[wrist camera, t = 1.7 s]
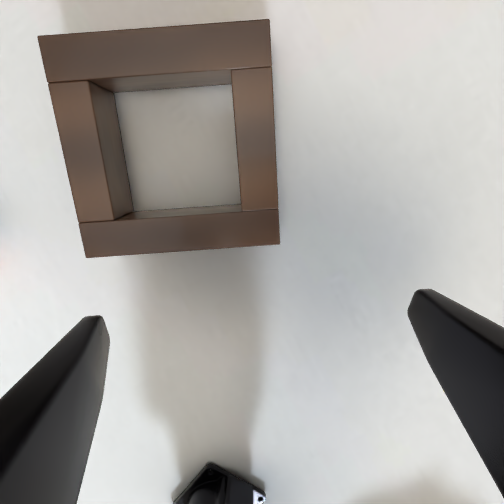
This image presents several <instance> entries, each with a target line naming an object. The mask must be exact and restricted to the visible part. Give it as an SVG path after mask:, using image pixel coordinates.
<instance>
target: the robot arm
mask: <svg viewBox="0 0 504 504" xmlns="http://www.w3.org/2000/svg"><path fill="white" fill-rule="evenodd" d="M408 317H409V320H410V322H411V324H412V327H413V329H414V331H415V334H416V336H417V338H418V340H419V343H420V345H421V347H422V350H423V352H424V354H425V356H426V359H427V361H428V363H429V365H430V367H431V368H432V370H433V372H434V374H435V376H436V377H437V379H438V381H439V383H440V385H441V386H442V388H443V390H444V392H445V394H446V395H447V397H448V399H449V401H450V403H451V404H452V406H453V408H454V410H455V412H456V413H457V415H458V417H459V419H460V421H461V422H462V424H463V426H464V428H465V429H466V431H467V433H468V435H469V437H470V438H471V440H472V442H473V444H474V446H475V447H476V449H477V451H478V453H479V455H480V456H481V458H482V460H483V462H484V464H485V465H486V467H487V469H488V471H489V472H490V474H491V476H492V478H493V480H494V481H495V483H496V485H497V487H498V489H499V490H500V492H501V494H502V496H503V498H504V327H502V326H500V325H498V324H496V323H494V322H492V321H490V320H489V319H487V318H485V317H483V316H481V315H479V314H477V313H475V312H473V311H472V310H470V309H468V308H466V307H464V306H462V305H460V304H458V303H457V302H455V301H453V300H451V299H449V298H447V297H445V296H443V295H442V294H440V293H438V292H436V291H434V290H432V289H420V290H417V291H416V292H415V293H414V295H413V298H412V300H411V303H410V305H409V307H408ZM109 346H110V338H109V334H108V331H107V328H106V325H105V322H104V319H103V317H102V316H100V315H97V316H87V317H84V318H83V319H82V320H81V321H80V322H79V323H78V324H77V325H76V326H75V327H74V328H73V329H71V330H70V331H69V332H68V333H67V334H66V335H65V336H64V337H63V338H62V339H61V340H60V341H59V342H58V343H57V344H56V345H55V346H54V347H53V348H52V349H51V350H50V351H49V352H48V353H47V354H46V355H45V356H44V357H43V358H42V359H41V360H40V361H39V362H38V363H37V364H36V365H35V366H33V367H32V368H31V369H30V370H29V371H28V372H27V373H26V374H25V375H24V376H23V377H22V378H21V379H20V380H19V381H18V382H17V383H16V384H15V385H14V386H13V387H12V388H11V389H10V390H9V391H8V392H7V393H6V394H5V395H4V396H3V397H2V398H1V399H0V504H77V500H78V496H79V492H80V488H81V484H82V480H83V476H84V472H85V468H86V464H87V460H88V456H89V452H90V448H91V444H92V440H93V436H94V432H95V428H96V424H97V420H98V416H99V412H100V408H101V403H102V399H103V392H104V385H105V377H106V369H107V361H108V354H109ZM265 500H266V494H265V492H264V491H262V490H260V489H258V488H257V487H255V486H253V485H251V484H249V483H247V482H246V481H244V480H242V479H240V478H238V477H236V476H234V475H233V474H231V473H229V472H227V471H225V470H223V469H221V468H220V467H218V466H216V465H214V464H207V465H206V466H205V467H204V468H203V470H202V471H201V472H200V473H199V474H198V475H197V476H196V478H195V479H194V480H193V481H192V482H191V483H190V484H189V486H188V487H187V488H186V489H185V490H184V491H183V492H182V494H181V495H180V496H179V497H178V498H177V499H176V500H175V502H174V503H173V504H263V503H264V501H265Z"/></svg>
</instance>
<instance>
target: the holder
mask: <svg viewBox="0 0 504 504" xmlns="http://www.w3.org/2000/svg"><path fill="white" fill-rule="evenodd" d="M38 42H39V46H40V51H41V55H42V60H43V65H44V69H45V74H46V78H47V82H48V83H49V84H48V86H49V91H50V95H51V100H52V105H53V109H54V114H55V118H56V123H57V127H58V132H59V136H60V141H61V145H62V150H63V154H64V159H65V164H66V168H67V173H68V177H69V182H70V186H71V191H72V195H73V200H74V204H75V209H76V213H77V218H78V222H79V228H80V233H81V237H82V242H83V246H84V251H85V255H86V258H93V257H108V256H122V255H136V254H150V253H164V252H178V251H192V250H206V249H221V248H235V247H249V246H263V245H277V244H280V233H279V211H278V189H277V168H276V146H275V125H274V103H273V81H272V67H271V66H272V60H271V39H270V20H269V19H263V20H249V21H236V22H222V23H208V24H194V25H181V26H167V27H153V28H140V29H126V30H112V31H98V32H85V33H71V34H57V35H44V36H38ZM225 84H232V94H233V106H234V119H235V132H236V145H237V158H238V171H239V183H240V196H241V204H234V205H220V206H206V207H192V208H178V209H164V210H150V211H136V212H133V204H132V198H131V193H130V187H129V181H128V175H127V169H126V163H125V157H124V152H123V146H122V140H121V134H120V128H119V122H118V116H117V111H116V105H115V99H114V94H113V93H114V92H128V91H142V90H156V89H170V88H183V87H197V86H211V85H225Z"/></svg>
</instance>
